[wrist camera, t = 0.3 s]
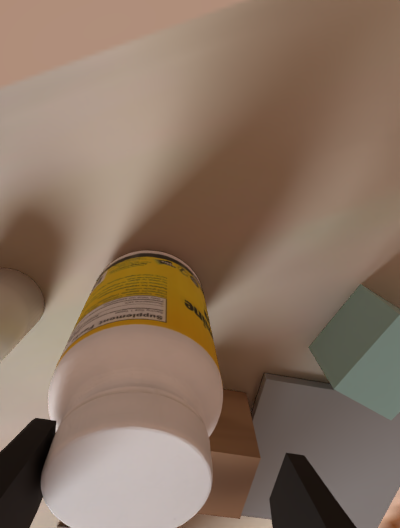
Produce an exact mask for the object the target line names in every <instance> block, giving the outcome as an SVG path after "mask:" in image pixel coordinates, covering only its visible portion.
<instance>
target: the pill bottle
mask: <svg viewBox="0 0 400 528" xmlns="http://www.w3.org/2000/svg"><path fill="white" fill-rule="evenodd" d="M222 403H223V383H222V379H221V374H220V369H219V365H218V360H217V356H216V351H215V345H214V341H213V336H212V331H211V327H210V322H209V317H208V312H207V308H206V303H205V298H204V293H203V290H202V286H201V284H200V281H199V279H198V277H197V276H196V274H195V273H194V272H193V270H192V269H191V268H190V267H189V266H188V265H187V264H186V263H184V262H183V261H181V260H180V259H178V258H177V257H175V256H173V255H170V254H167V253H164V252H159V251H148V250H146V251H136V252H132V253H128V254H126V255H124V256H121V257H119V258H118V259H116V260H114V261H113V262H112V263H110V264H109V265H108V266H107V267H106V268H105V269H104V270H103V272H102V273H101V275H100V276H99V278H98V280H97V282H96V284H95V285H94V287H93V289H92V291H91V294H90V296H89V298H88V300H87V302H86V304H85V306H84V308H83V310H82V312H81V315H80V317H79V319H78V321H77V323H76V325H75V327H74V330H73V332H72V334H71V336H70V338H69V340H68V343H67V345H66V347H65V349H64V351H63V353H62V356H61V358H60V360H59V362H58V364H57V366H56V369H55V371H54V374H53V377H52V380H51V383H50V387H49V393H48V411H49V415H50V419H51V420H54V421H56V433H55V436H54V438H53V441H52V443H51V446H50V449H49V452H48V455H47V458H46V461H45V463H44V467H43V470H42V474H41V491H42V495H43V498H44V501H45V503H46V505H47V506H48V508H49V509H50V511H51V512H52V513H53V514H54V515H55V516H56V517H57V518H58V519H59V520H60V521H62V522H63V523H64V524H66V525H67V526H69V527H71V528H177V527H179V526H181V525H182V524H184V523H185V522H187V521H188V520H189V519H191V518H192V517H193V516H194V515H195V514H196V513H197V512H198V511H199V510H200V509H201V508H202V506H203V505H204V504H205V502H206V500H207V498H208V496H209V494H210V491H211V488H212V483H213V468H212V459H211V451H210V440H209V437H210V435H211V434H212V432H213V430H214V429H215V427H216V425H217V422H218V419H219V417H220V414H221V410H222Z"/></svg>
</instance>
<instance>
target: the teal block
mask: <svg viewBox="0 0 400 528" xmlns="http://www.w3.org/2000/svg"><path fill="white" fill-rule="evenodd" d="M309 349H310V351H311V352H312V354H313V356H314V357H315V359H316V361H317V362H318V364H319V366H320V367H321V369H322V370H323V372H324V374H325V375H326V377H327V379H328V380H329V382H330V384H331V385H332V387H333V389H334V390H336V391H338V392H340V393H342V394H343V395H345V396H347V397H349V398H351V399H353V400H354V401H356V402H358V403H360V404H362V405H364V406H365V407H367V408H369V409H371V410H373V411H374V412H376V413H378V414H380V415H382V416H384V417H385V418H387V419H389V420H392V419H393V418H394V417H395V416H396V415H397V414H398V413H399V412H400V309H399V308H397V307H396V306H394V305H393V304H391V303H389V302H388V301H386V300H385V299H383V298H382V297H380V296H378V295H377V294H375V293H374V292H372V291H371V290H369V289H367V288H366V287H364V286H363V285H361V284H360V286H359V287H358V288H357V289H356V290H355V292H354V293H353V294H352V295H351V296H350V298H349V299H348V300H347V301H346V303H345V304H344V305H343V306H342V307H341V309H340V310H339V311H338V312H337V313H336V315H335V316H334V317H333V318H332V320H331V321H330V322H329V323H328V324H327V326H326V327H325V328H324V329H323V331H322V332H321V333H320V334H319V335H318V337H317V338H316V339H315V340H314V341H313V343H312V344H311V345H310V346H309Z"/></svg>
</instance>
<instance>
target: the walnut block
mask: <svg viewBox="0 0 400 528" xmlns="http://www.w3.org/2000/svg"><path fill="white" fill-rule="evenodd" d="M209 440H210V451H211V459H212V468H213V483H212V488H211V491H210V494H209V496H208V498H207V500H206V502H205V504H204V505H203V506H202V508H201V509H200V510H199V511H198V512H197V513H198V514H206V515H214V516H222V517H230V518H238V519H240V516H241V514H242V511H243V508H244V505H245V502H246V499H247V496H248V493H249V491H250V488H251V485H252V482H253V479H254V476H255V473H256V470H257V468H258V465H259V462H260V459H261V457H260V453H259V448H258V444H257V439H256V435H255V430H254V426H253V421H252V417H251V412H250V408H249V403H248V399H247V395H246V393H244V392H238V391H232V390H225V389H223V403H222V410H221V414H220V417H219V419H218V422H217V425H216V427H215V429H214V430H213V432H212V434H211V435H210V437H209Z"/></svg>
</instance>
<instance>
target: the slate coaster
mask: <svg viewBox="0 0 400 528" xmlns="http://www.w3.org/2000/svg"><path fill="white" fill-rule="evenodd" d="M251 417H252V421H253V426H254V430H255V435H256V439H257V444H258V448H259V453H260V457H261V459H260V462H259V465H258V468H257V470H256V473H255V476H254V479H253V482H252V485H251V488H250V491H249V493H248V496H247V499H246V502H245V505H244V508H243V511H242V514H241V516H248V517H256V518H264V519H272V518H271V509H270V501H269V498H270V496H271V493H272V490H273V487H274V485H275V482H276V479H277V476H278V473H279V471H280V468H281V465H282V462H283V460H284V457H285V454H286V453H292V454H299V455H304V456H305V457H306V458H307V460H308V461H309V462H310V464H311V465H312V467H313V468H314V469H315V471H316V472H317V474H318V475H319V476H320V478H321V479H322V481H323V482H324V484H325V485H326V486H327V488H328V489H329V491H330V492H331V493H332V495H333V496H334V498H335V499H336V500H337V502H338V503H339V504H340V506H341V507H342V509H343V510H344V511H345V513H346V514H347V515H348V517H349V518H350V519H351V521H352V522H353V523H354V525H355V526H356V527H357V528H378V526H379V524H380V523H381V521H382V519H383V517H384V515H385V513H386V511H387V510H388V508H389V506H390V504H391V502H392V500H393V498H394V497H395V495H396V493H397V491H398V489H399V487H400V412H399V413H398V414H397V415H396V416H395V417H394V418H393V419H392V420H389V419H387V418H385V417H384V416H382V415H380V414H378V413H376V412H374V411H373V410H371V409H369V408H367V407H365V406H364V405H362V404H360V403H358V402H356V401H354V400H353V399H351V398H349V397H347V396H345V395H343V394H342V393H340V392H338V391H336V390H334V389H333V387H332V385H331V384H327V383H321V382H315V381H309V380H303V379H297V378H291V377H285V376H279V375H273V374H267V373H264V375H263V379H262V382H261V385H260V388H259V391H258V394H257V397H256V401H255V404H254V407H253V410H252V413H251Z"/></svg>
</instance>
